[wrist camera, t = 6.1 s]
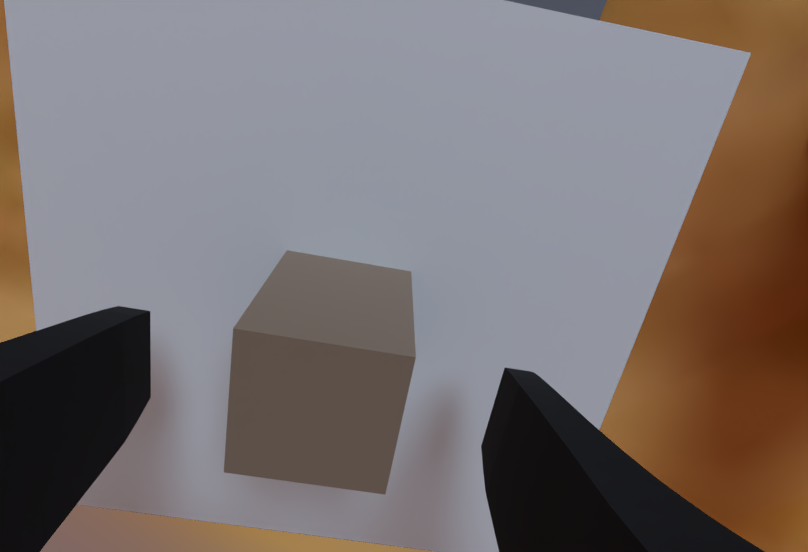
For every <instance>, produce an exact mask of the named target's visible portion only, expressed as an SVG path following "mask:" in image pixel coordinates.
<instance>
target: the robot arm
mask: <svg viewBox="0 0 808 552" xmlns="http://www.w3.org/2000/svg"><path fill="white" fill-rule="evenodd" d="M150 398H151V353H150V311H147V310H140V309H134V308H128V307H122V306H117V307H112V308H108V309H104V310H100V311H97V312H93V313H90V314H87V315H84V316H80V317H77V318H74V319H71V320H68V321H65V322H62V323H59V324H56V325H53V326H50V327H47V328H44V329H41V330H38V331H35V332H32V333H29V334H26V335H23V336H20V337H17V338H14V339H11V340H8V341H4V342H1V343H0V552H40V551H41V549H42V548H43V546H44V545H45V544H46V543H47V541H48V540H49V539H50V537H51V536H52V535H53V534H54V532H55V531H56V530H57V528H58V527H59V526H60V525H61V523H62V522H63V521H64V520H65V518H66V517H67V516H68V515H69V513H70V512H71V511H72V509H73V508H74V507H75V506H76V504H77V503H78V502H79V501H80V499H81V498H82V497H83V495H84V494H85V493H86V492H87V490H88V489H89V488H90V487H91V485H92V484H93V483H94V481H95V480H96V479H97V478H98V476H99V475H100V474H101V472H102V471H103V470H104V469H105V467H106V466H107V465H108V463H109V462H110V461H111V459H112V458H113V457H114V456H115V454H116V453H117V452H118V450H119V449H120V448H121V446H122V445H123V444H124V442H125V441H126V439H127V438H128V436H129V434H130V433H131V431H132V429H133V428H134V426H135V424H136V423H137V421H138V419H139V418H140V416H141V414H142V412H143V410H144V409H145V407H146V405H147V403H148V401H149V400H150ZM481 451H482V463H483V474H484V483H485V492H486V496H487V501H488V506H489V510H490V514H491V519H492V523H493V528H494V532H495V536H496V540H497V545H498V549H499V552H764V551H762V550H761V549H759V548H758V547H756V546H754V545H753V544H751V543H750V542H748V541H746V540H745V539H743V538H742V537H740V536H738V535H737V534H735V533H734V532H732V531H731V530H729V529H728V528H726V527H725V526H723V525H721V524H720V523H718V522H717V521H715V520H714V519H712V518H711V517H709V516H708V515H707V514H705V513H704V512H702V511H701V510H700V509H698V508H697V507H695V506H694V505H693V504H691V503H690V502H688V501H687V500H686V499H684V498H683V497H681V496H680V495H679V494H677V493H676V492H674V491H673V490H672V489H670V488H669V487H668V486H666V485H665V484H664V483H662V482H661V481H660V480H658V479H657V478H656V477H654V476H653V475H652V474H651V473H649V472H648V471H647V470H646V469H644V468H643V467H642V466H641V465H640V464H638V463H637V462H636V461H635V460H633V459H632V458H631V457H630V456H628V455H627V454H626V453H625V452H624V451H622V450H621V449H620V448H619V447H618V446H617V445H615V444H614V443H613V442H612V441H611V440H610V439H608V438H607V437H606V436H605V435H604V434H603V433H602V432H600V431H599V430H598V429H597V428H596V427H595V426H594V425H593V424H592V423H590V422H589V421H588V420H587V419H586V418H585V417H584V416H583V415H582V414H581V413H579V412H578V411H577V410H576V409H575V408H574V407H573V406H572V405H571V404H570V403H569V402H567V401H566V400H565V399H564V398H563V397H562V396H561V395H560V394H559V393H558V392H557V391H555V390H554V389H553V388H552V387H551V386H550V385H549V384H548V383H546V382H545V381H544V380H543V379H542V378H541V377H539V376H538V375H537V374H535V373H534V372H531V371H524V370H518V369H512V368H504V371H503V375H502V378H501V381H500V385H499V388H498V391H497V395H496V398H495V401H494V405H493V408H492V411H491V415H490V418H489V421H488V425H487V428H486V431H485V435H484V438H483V441H482V445H481Z"/></svg>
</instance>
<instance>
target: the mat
mask: <svg viewBox="0 0 808 552" xmlns="http://www.w3.org/2000/svg"><path fill="white" fill-rule="evenodd" d="M506 1H510V2H515V3H520V4H524V5H529V6H534V7H538V8H543V9H548V10H552V11H557V12H562V13H566V14H571V15H576V16H580V17H585V18H590V19H594V20H599V19H600V16H601V14H602V11H603V8H604V6H605V3H606V1H607V0H506Z"/></svg>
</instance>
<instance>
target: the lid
mask: <svg viewBox="0 0 808 552" xmlns="http://www.w3.org/2000/svg"><path fill="white" fill-rule="evenodd" d="M4 5H5V16H6V26H7V36H8V46H9V56H10V67H11V77H12V87H13V97H14V108H15V118H16V128H17V138H18V148H19V159H20V169H21V179H22V189H23V200H24V210H25V220H26V230H27V241H28V251H29V261H30V271H31V281H32V292H33V302H34V312H35V322H36V331H38V330H41V329H44V328H47V327H50V326H53V325H56V324H59V323H62V322H65V321H68V320H71V319H74V318H77V317H80V316H84V315H87V314H90V313H93V312H97V311H100V310H104V309H108V308H112V307H117V306H122V307H128V308H134V309H140V310H147V311H150V353H151V398H150V400H149V401H148V403H147V405H146V407H145V409H144V410H143V412H142V414H141V416H140V418H139V419H138V421H137V423H136V424H135V426H134V428H133V429H132V431H131V433H130V434H129V436H128V438H127V439H126V441H125V442H124V444H123V445H122V446H121V448H120V449H119V450H118V452H117V453H116V454H115V456H114V457H113V458H112V459H111V461H110V462H109V463H108V465H107V466H106V467H105V469H104V470H103V471H102V472H101V474H100V475H99V476H98V478H97V479H96V480H95V481H94V483H93V484H92V485H91V487H90V488H89V489H88V490H87V492H86V493H85V494H84V495H83V497H82V498H81V499H80V501H79V502H78V503H77V504H76V505H83V506H90V507H99V508H106V509H114V510H122V511H129V512H136V513H145V514H152V515H160V516H167V517H175V518H183V519H190V520H198V521H206V522H213V523H221V524H229V525H237V526H244V527H252V528H259V529H267V530H275V531H282V532H290V533H298V534H305V535H313V536H321V537H328V538H336V539H344V540H351V541H359V542H368V543H375V544H383V545H390V546H398V547H405V548H413V549H421V550H429V551H437V552H499V549H498V545H497V540H496V536H495V532H494V528H493V523H492V519H491V514H490V510H489V506H488V501H487V496H486V492H485V483H484V474H483V463H482V451H481V445H482V441H483V438H484V435H485V431H486V428H487V425H488V421H489V418H490V415H491V411H492V408H493V405H494V401H495V398H496V395H497V391H498V388H499V385H500V381H501V378H502V375H503V371H504V368H512V369H518V370H524V371H531V372H534V373H535V374H537V375H538V376H539V377H541V378H542V379H543V380H544V381H545V382H546V383H548V384H549V385H550V386H551V387H552V388H553V389H554V390H555V391H557V392H558V393H559V394H560V395H561V396H562V397H563V398H564V399H565V400H566V401H567V402H569V403H570V404H571V405H572V406H573V407H574V408H575V409H576V410H577V411H578V412H579V413H581V414H582V415H583V416H584V417H585V418H586V419H587V420H588V421H589V422H590V423H592V424H593V425H594V426H595V427H596V428H597V429H598V430H599V429H600V427H601V425H602V422H603V420H604V417H605V415H606V412H607V410H608V407H609V405H610V402H611V400H612V397H613V395H614V392H615V390H616V387H617V385H618V382H619V380H620V377H621V375H622V372H623V370H624V367H625V365H626V362H627V360H628V357H629V355H630V353H631V350H632V348H633V345H634V343H635V340H636V338H637V335H638V333H639V330H640V328H641V325H642V323H643V320H644V318H645V315H646V313H647V310H648V308H649V305H650V303H651V300H652V298H653V295H654V293H655V290H656V288H657V285H658V283H659V281H660V278H661V276H662V273H663V271H664V268H665V266H666V263H667V261H668V258H669V256H670V253H671V251H672V248H673V246H674V243H675V241H676V238H677V236H678V233H679V231H680V228H681V226H682V223H683V221H684V218H685V216H686V213H687V211H688V208H689V206H690V204H691V201H692V199H693V196H694V194H695V191H696V189H697V186H698V184H699V181H700V179H701V176H702V174H703V171H704V169H705V166H706V164H707V161H708V159H709V156H710V154H711V151H712V149H713V146H714V144H715V141H716V139H717V136H718V134H719V132H720V129H721V127H722V124H723V122H724V119H725V117H726V114H727V112H728V109H729V107H730V104H731V102H732V99H733V97H734V94H735V92H736V89H737V87H738V84H739V82H740V79H741V77H742V74H743V72H744V69H745V67H746V64H747V62H748V60H749V57H750V55H751V53H749V52H744V51H739V50H735V49H730V48H725V47H721V46H716V45H711V44H707V43H702V42H697V41H693V40H688V39H683V38H679V37H674V36H669V35H665V34H660V33H655V32H651V31H646V30H641V29H637V28H632V27H627V26H622V25H618V24H613V23H608V22H604V21H599V20H594V19H590V18H585V17H580V16H576V15H571V14H566V13H562V12H557V11H552V10H548V9H543V8H538V7H534V6H529V5H524V4H520V3H515V2H510V1H506V0H4Z"/></svg>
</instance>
